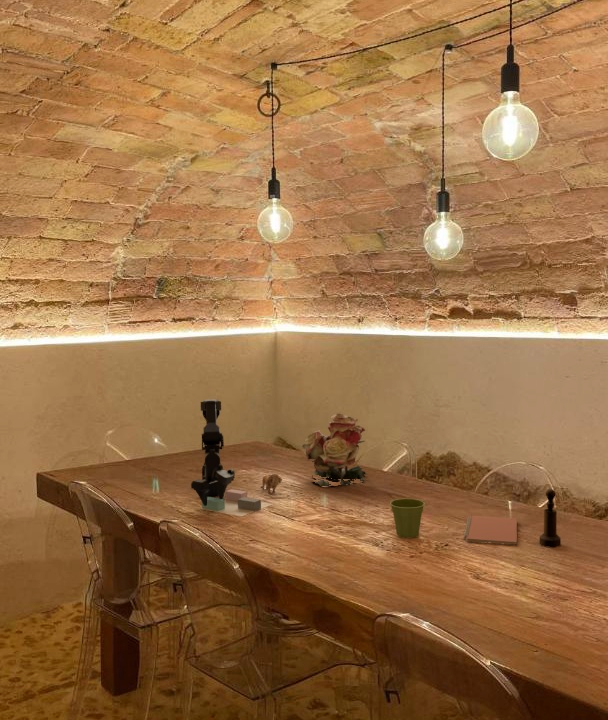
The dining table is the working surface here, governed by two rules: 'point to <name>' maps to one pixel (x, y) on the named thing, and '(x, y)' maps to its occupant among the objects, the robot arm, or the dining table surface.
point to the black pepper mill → (550, 523)
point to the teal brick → (214, 504)
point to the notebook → (491, 530)
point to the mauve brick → (234, 495)
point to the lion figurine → (271, 482)
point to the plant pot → (407, 516)
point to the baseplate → (235, 510)
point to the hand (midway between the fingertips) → (213, 502)
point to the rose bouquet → (336, 450)
